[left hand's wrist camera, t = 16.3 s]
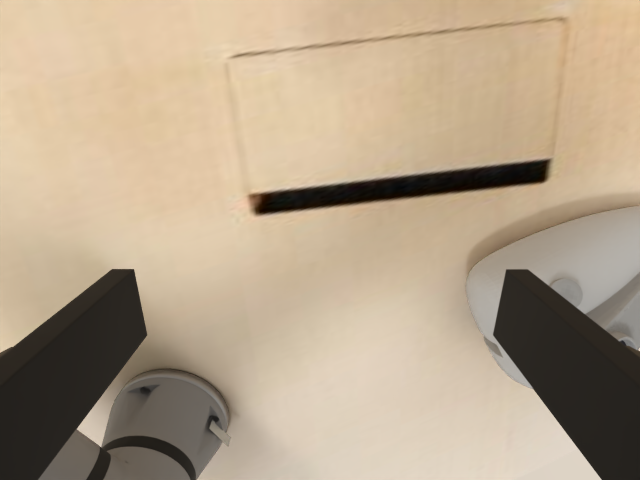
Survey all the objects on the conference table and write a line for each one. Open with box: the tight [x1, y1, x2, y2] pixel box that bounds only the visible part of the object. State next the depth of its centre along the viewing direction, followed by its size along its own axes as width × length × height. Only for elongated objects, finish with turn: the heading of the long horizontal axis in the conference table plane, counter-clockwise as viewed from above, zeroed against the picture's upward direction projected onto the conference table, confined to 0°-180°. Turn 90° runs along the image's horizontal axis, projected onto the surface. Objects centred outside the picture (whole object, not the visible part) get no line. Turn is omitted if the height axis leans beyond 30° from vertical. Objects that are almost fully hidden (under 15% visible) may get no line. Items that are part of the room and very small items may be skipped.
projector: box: [466, 206, 640, 389], centre depth 35 cm, size 22×23×15 cm
